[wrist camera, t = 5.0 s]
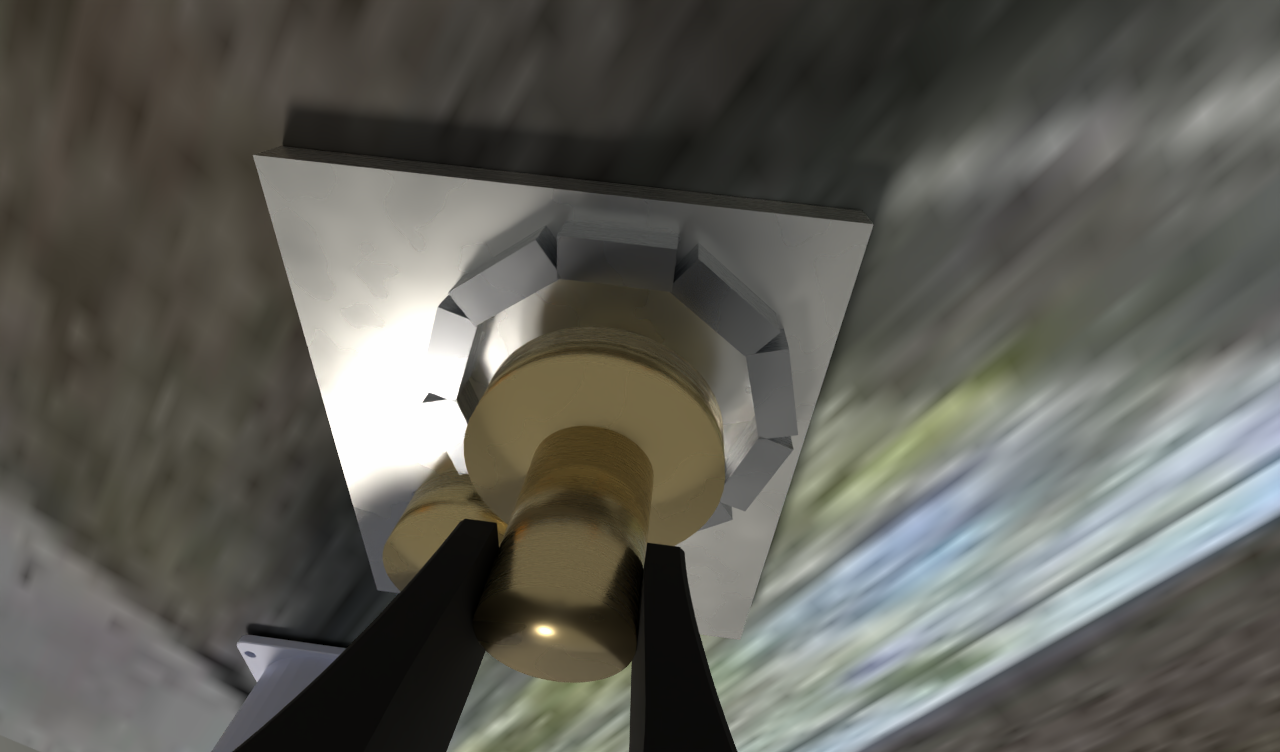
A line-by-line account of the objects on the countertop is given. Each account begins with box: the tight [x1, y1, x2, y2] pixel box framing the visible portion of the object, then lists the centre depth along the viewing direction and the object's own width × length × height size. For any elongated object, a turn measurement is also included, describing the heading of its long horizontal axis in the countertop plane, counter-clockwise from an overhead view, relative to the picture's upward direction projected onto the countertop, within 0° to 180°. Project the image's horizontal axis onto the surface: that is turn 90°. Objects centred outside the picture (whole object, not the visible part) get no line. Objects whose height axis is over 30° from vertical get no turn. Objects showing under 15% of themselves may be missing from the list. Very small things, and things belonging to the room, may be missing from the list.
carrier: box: [253, 146, 874, 640], centre depth 16 cm, size 16×14×4 cm
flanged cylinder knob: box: [464, 327, 725, 683], centre depth 12 cm, size 6×6×6 cm
